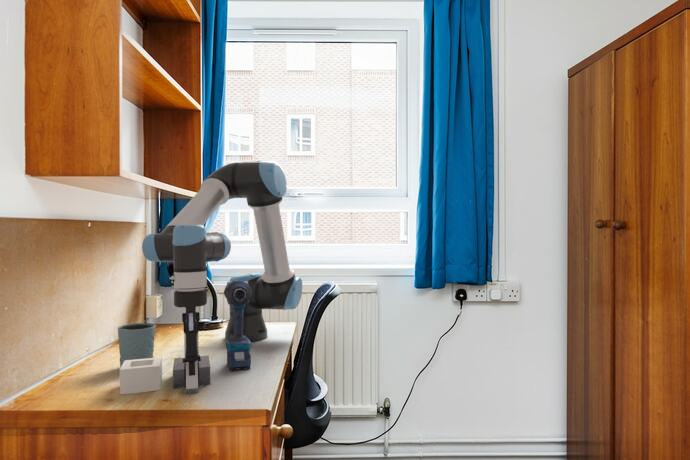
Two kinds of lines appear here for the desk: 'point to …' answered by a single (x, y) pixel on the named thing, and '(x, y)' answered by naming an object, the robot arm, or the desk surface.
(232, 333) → the robot arm
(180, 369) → the socket block
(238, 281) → the impact wrench
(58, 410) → the desk surface
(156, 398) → the desk surface
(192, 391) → the blue-grey rectangular bar
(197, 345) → the silver rounded rod
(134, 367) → the block
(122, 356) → the grey-green cup
